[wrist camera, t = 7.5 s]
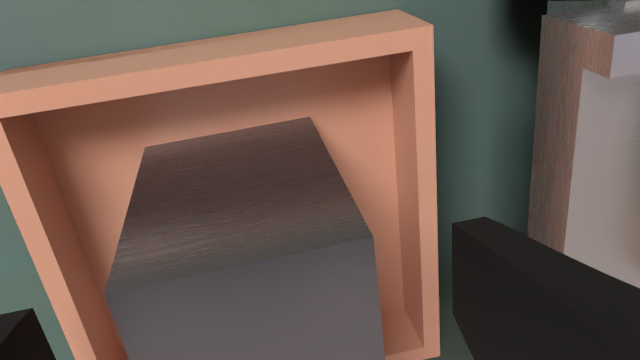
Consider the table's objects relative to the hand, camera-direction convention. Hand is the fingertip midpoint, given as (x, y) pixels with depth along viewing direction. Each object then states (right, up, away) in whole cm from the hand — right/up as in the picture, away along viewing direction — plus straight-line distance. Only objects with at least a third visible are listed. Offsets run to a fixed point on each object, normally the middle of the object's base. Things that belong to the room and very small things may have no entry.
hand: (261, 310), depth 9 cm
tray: (-1, +2, +3) cm, 4 cm away
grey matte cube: (-1, +2, +3) cm, 3 cm away
